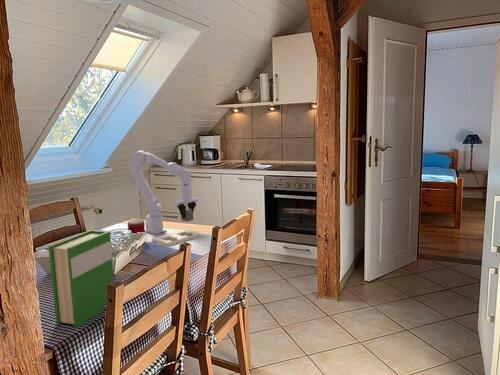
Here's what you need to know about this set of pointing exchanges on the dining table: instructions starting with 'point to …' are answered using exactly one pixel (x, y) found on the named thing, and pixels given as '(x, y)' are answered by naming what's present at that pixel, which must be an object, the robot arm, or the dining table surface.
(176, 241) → the socket plate
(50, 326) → the dining table surface
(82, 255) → the hardback book
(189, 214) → the plug
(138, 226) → the canned food
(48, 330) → the dining table surface
